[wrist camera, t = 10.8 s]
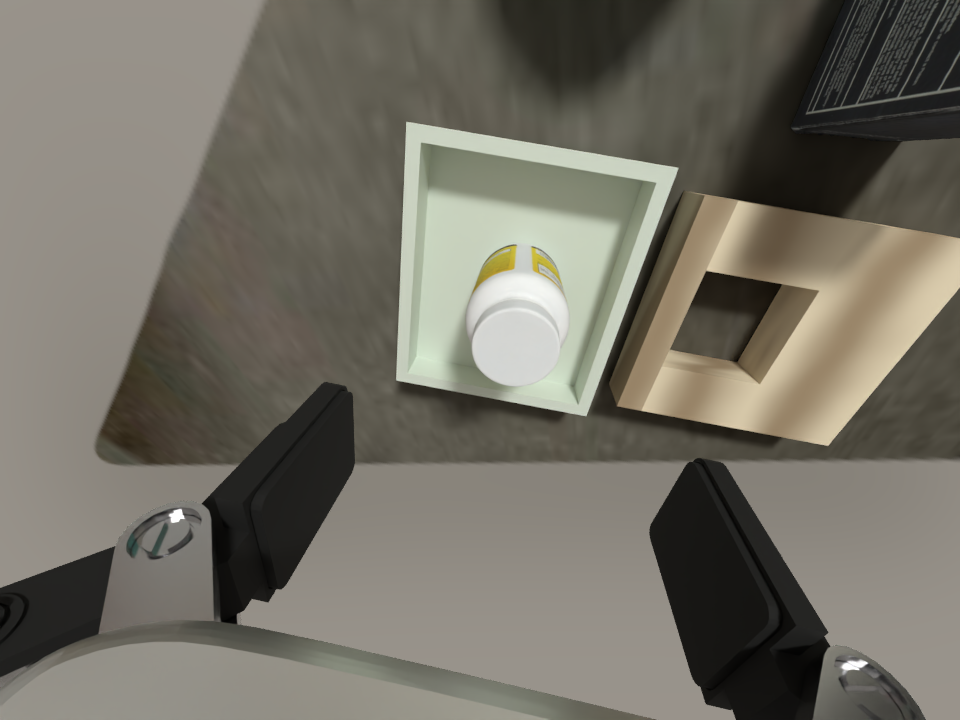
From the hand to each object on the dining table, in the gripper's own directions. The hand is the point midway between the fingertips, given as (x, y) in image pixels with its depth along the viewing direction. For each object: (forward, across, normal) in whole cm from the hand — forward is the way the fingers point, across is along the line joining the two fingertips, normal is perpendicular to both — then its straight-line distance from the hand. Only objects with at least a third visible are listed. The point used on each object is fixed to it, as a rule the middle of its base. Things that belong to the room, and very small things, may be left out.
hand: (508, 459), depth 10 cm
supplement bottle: (+17, 0, 0) cm, 17 cm away
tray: (+18, +1, 0) cm, 18 cm away
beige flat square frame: (+18, -16, 0) cm, 24 cm away
